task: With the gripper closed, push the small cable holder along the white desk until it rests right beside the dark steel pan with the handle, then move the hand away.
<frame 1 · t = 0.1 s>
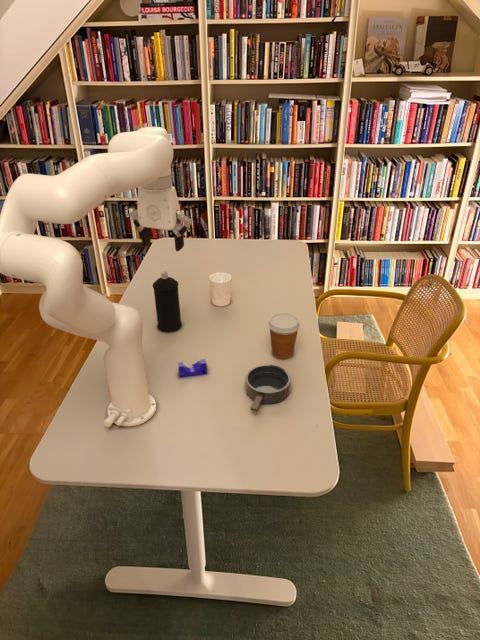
hand: (163, 246, 126), 37 cm above the table, tool pointing down, fingers open, 9 cm apart
white cup: (221, 302, 175), on the table
pan handle: (257, 401, 125), point 3 cm above the table
aerosol can: (169, 326, 162), on the table
pan: (267, 390, 133), on the table
cable holder: (192, 372, 140), on the table
disposable coffee cup: (282, 353, 148), on the table
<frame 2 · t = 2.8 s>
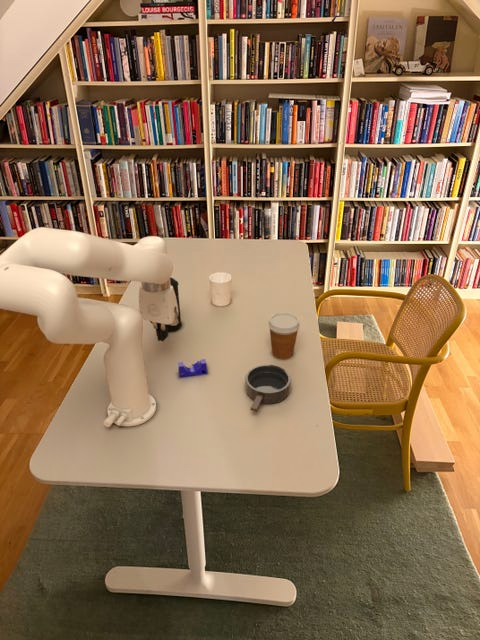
hand: (163, 338, 138), 9 cm above the table, tool pointing down, fingers closed
nothing on the table moved.
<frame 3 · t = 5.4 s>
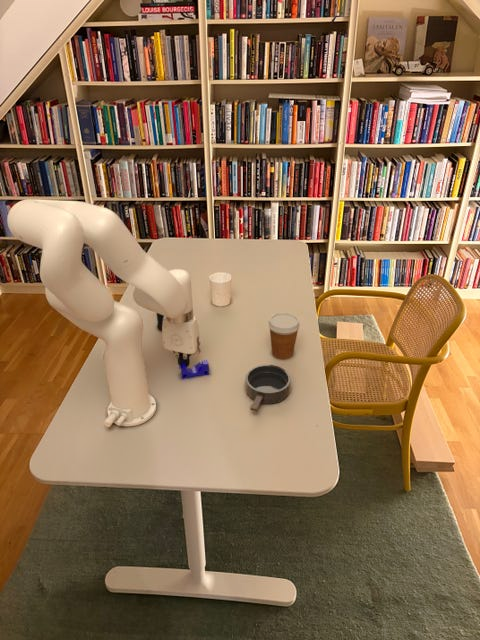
hand: (184, 366, 141), 1 cm above the table, tool pointing down, fingers closed
cable holder: (194, 373, 140), on the table, touching gripper
everything else where it was.
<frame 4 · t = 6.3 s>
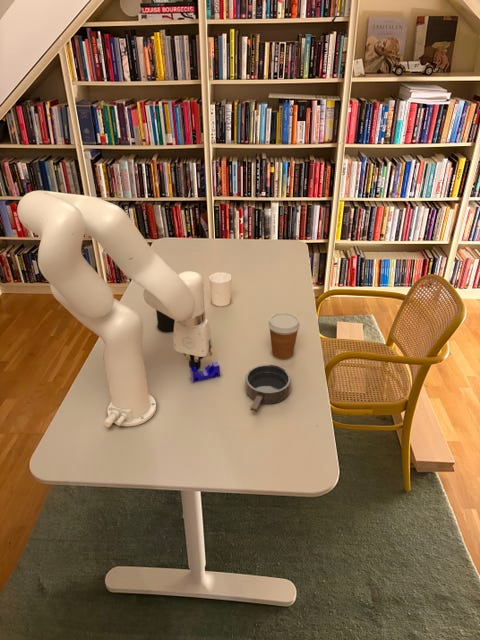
hand: (195, 369, 140), 1 cm above the table, tool pointing down, fingers closed
cable holder: (204, 376, 139), on the table, touching gripper
everything else where it was.
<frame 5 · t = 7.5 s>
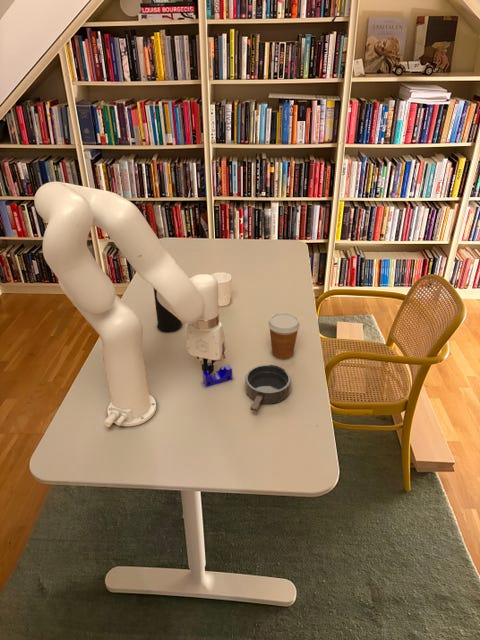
hand: (208, 373, 138), 1 cm above the table, tool pointing down, fingers closed
cable holder: (216, 380, 137), on the table, touching gripper
everything else where it was.
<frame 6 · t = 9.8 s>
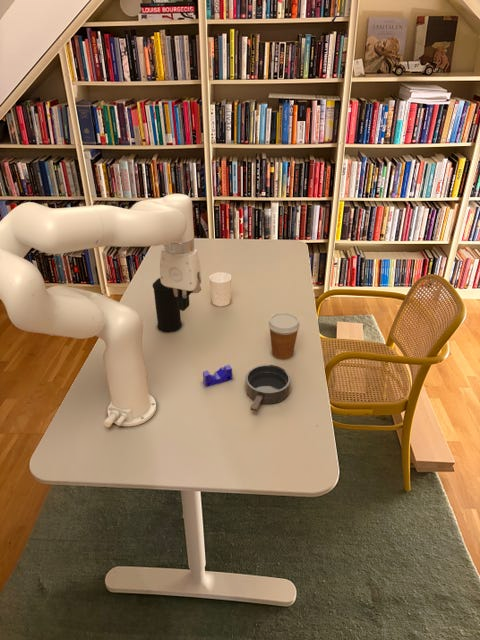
hand: (183, 308, 130), 21 cm above the table, tool pointing down, fingers closed
cable holder: (216, 380, 137), on the table
everything else where it was.
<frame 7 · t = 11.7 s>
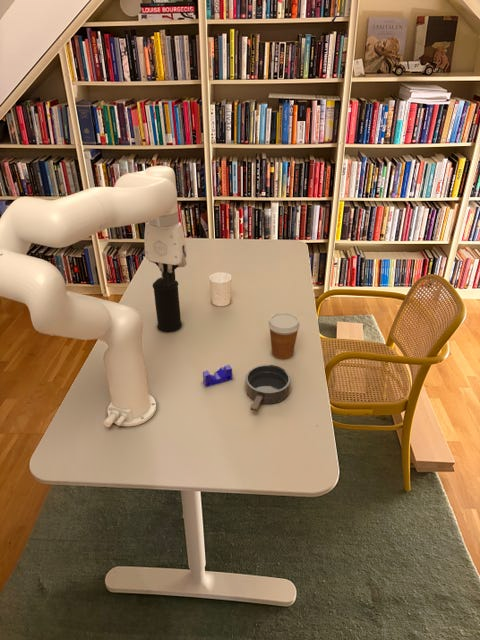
hand: (169, 283, 129), 27 cm above the table, tool pointing down, fingers closed
nothing on the table moved.
at the end: cable holder inside the target area on the table beside the pan (3.3 cm from its centre), on the table; cable holder tilted 0°; cable holder moved 8.0 cm from its start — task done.
